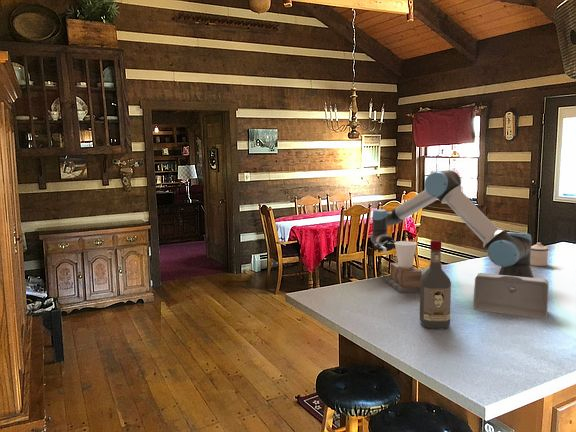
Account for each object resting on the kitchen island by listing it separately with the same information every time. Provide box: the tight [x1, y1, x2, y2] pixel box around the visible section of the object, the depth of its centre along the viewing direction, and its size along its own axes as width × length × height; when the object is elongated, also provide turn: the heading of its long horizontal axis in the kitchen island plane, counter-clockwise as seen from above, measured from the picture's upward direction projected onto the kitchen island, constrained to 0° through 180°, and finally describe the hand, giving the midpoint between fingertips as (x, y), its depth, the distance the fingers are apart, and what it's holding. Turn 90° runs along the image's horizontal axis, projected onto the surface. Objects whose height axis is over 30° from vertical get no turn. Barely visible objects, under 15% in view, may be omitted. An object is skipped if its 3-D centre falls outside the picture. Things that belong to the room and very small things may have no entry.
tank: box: [472, 272, 549, 319], centre depth 180 cm, size 25×16×12 cm, turn 61°
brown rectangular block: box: [385, 262, 423, 293], centre depth 213 cm, size 18×12×9 cm, turn 6°
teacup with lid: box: [530, 242, 549, 267], centre depth 249 cm, size 12×9×12 cm
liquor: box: [419, 239, 452, 330], centre depth 163 cm, size 9×9×30 cm
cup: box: [394, 240, 418, 268], centre depth 212 cm, size 10×10×11 cm
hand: (399, 250), depth 218 cm, fingers open, 13 cm apart
